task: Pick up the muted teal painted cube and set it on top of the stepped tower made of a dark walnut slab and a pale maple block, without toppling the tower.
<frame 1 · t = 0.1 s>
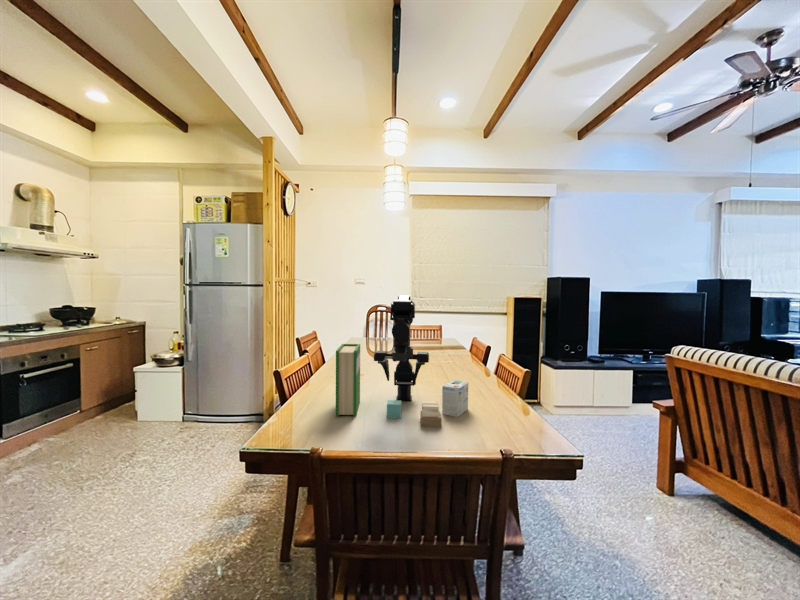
hand: (401, 381, 125), 14 cm above the table, tool pointing down, fingers open, 9 cm apart
teal cube: (394, 415, 132), on the table
light bulb box: (455, 412, 137), on the table
walnut slab: (430, 424, 125), on the table, touching maple block
hardback book: (348, 409, 139), on the table
maple block: (430, 414, 125), point 3 cm above the table, touching walnut slab
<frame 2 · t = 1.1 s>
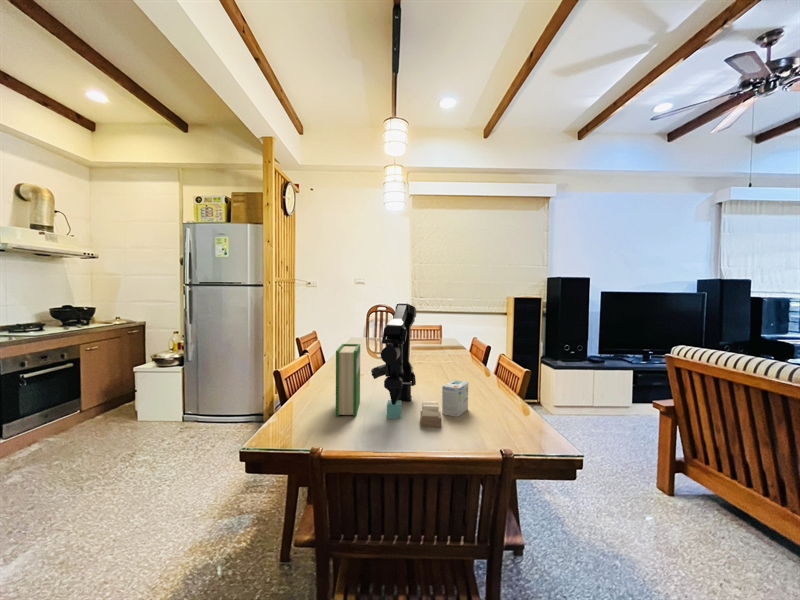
hand: (394, 400, 132), 5 cm above the table, tool pointing down, fingers open, 9 cm apart
walnut slab: (430, 424, 125), on the table
maple block: (430, 413, 125), point 3 cm above the table
everything else where it was.
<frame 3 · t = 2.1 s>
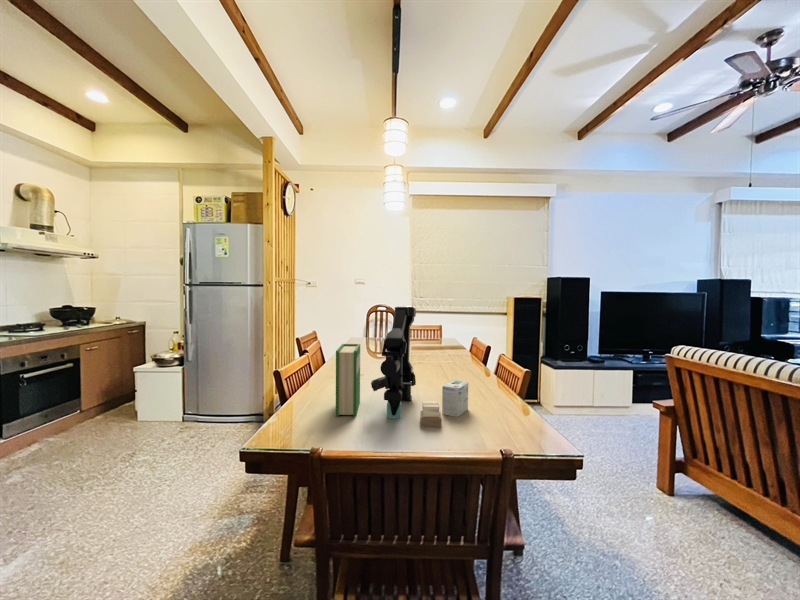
hand: (394, 412, 132), 1 cm above the table, tool pointing down, fingers closed on teal cube, 5 cm apart
teal cube: (394, 415, 132), on the table, touching gripper
everything else where it was.
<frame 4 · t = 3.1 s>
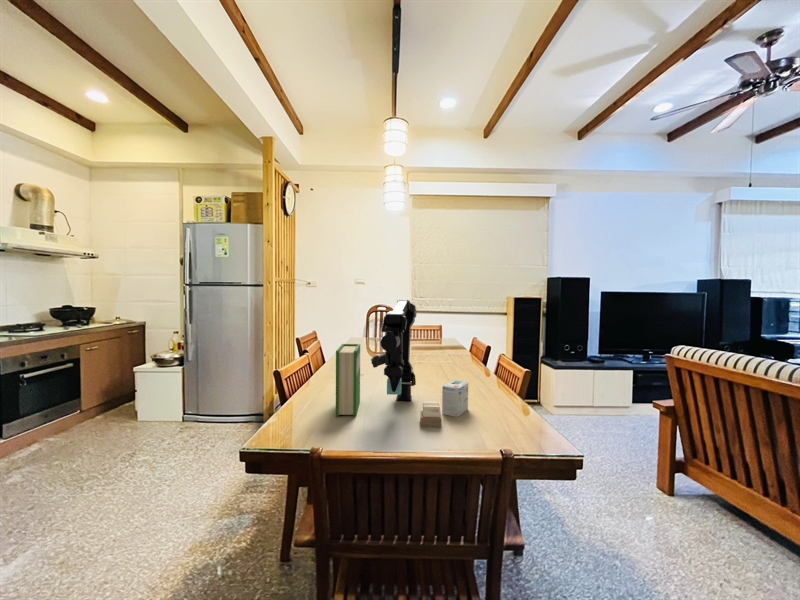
hand: (394, 389, 132), 10 cm above the table, tool pointing down, fingers closed on teal cube, 5 cm apart
teal cube: (394, 392, 132), point 9 cm above the table, touching gripper
everything else where it was.
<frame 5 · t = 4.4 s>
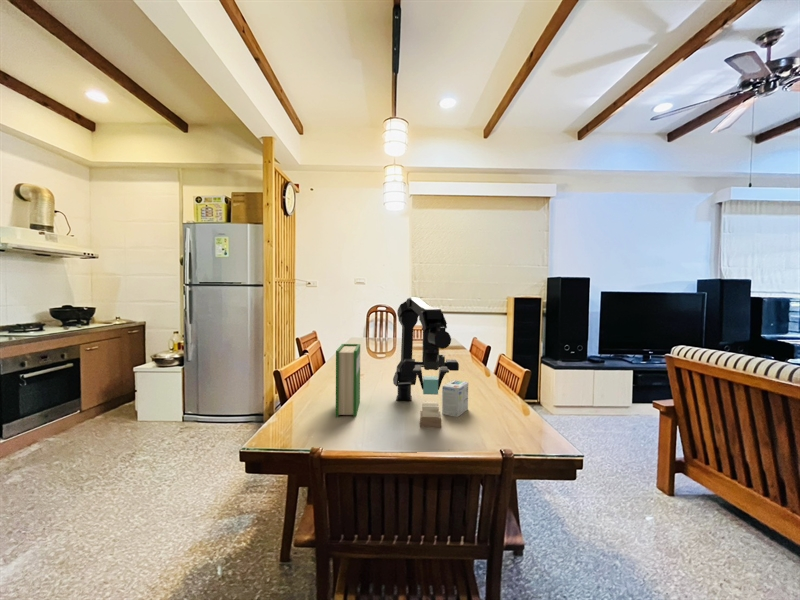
hand: (430, 389, 124), 12 cm above the table, tool pointing down, fingers closed on teal cube, 5 cm apart
teal cube: (430, 392, 124), point 11 cm above the table, touching gripper
walnut slab: (430, 424, 124), on the table, touching maple block
maple block: (430, 414, 124), point 3 cm above the table, touching walnut slab
everything else where it was.
when the fingers open (9 cm above the table, at t = 5.2 s): teal cube drops 1 cm, resting on maple block.
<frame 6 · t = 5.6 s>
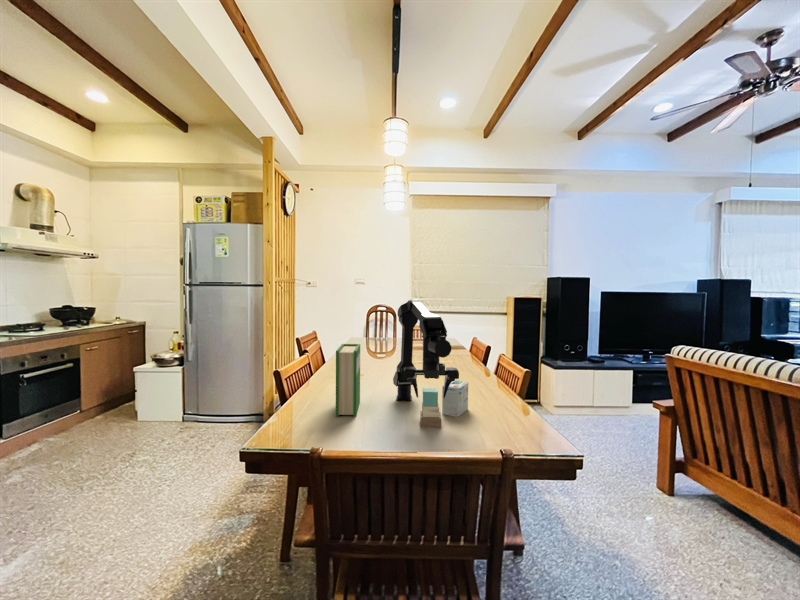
hand: (430, 397, 124), 9 cm above the table, tool pointing down, fingers open, 9 cm apart
teal cube: (430, 404, 124), point 7 cm above the table, touching maple block
maple block: (430, 414, 125), point 3 cm above the table, touching teal cube, walnut slab
everything else where it was.
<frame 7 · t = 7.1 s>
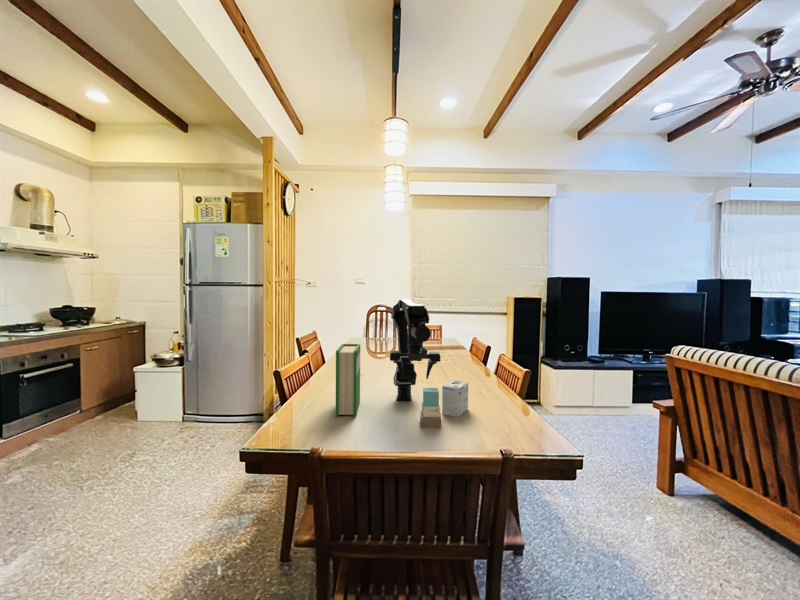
hand: (414, 378, 136), 13 cm above the table, tool pointing down, fingers open, 9 cm apart
teal cube: (430, 404, 124), point 7 cm above the table
maple block: (430, 414, 124), point 3 cm above the table, touching walnut slab
everything else where it was.
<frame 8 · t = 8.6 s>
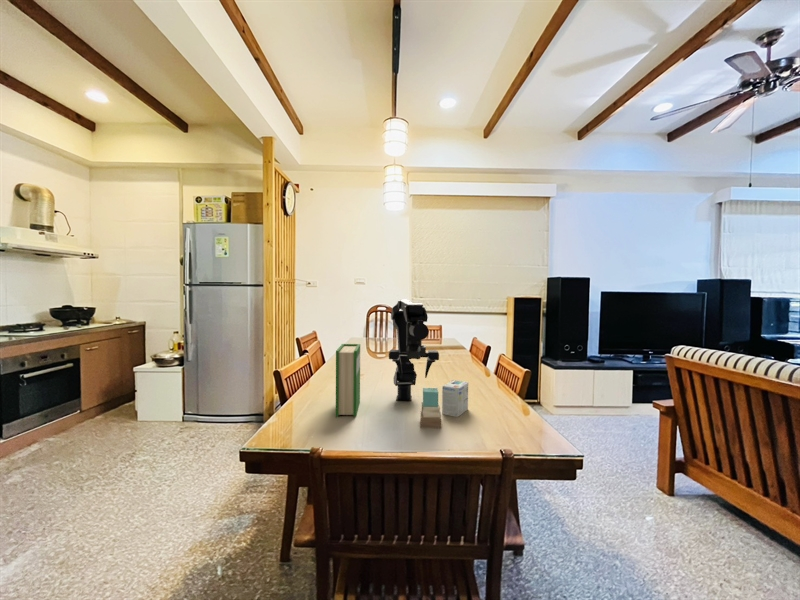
hand: (413, 377, 137), 13 cm above the table, tool pointing down, fingers open, 9 cm apart
nothing on the table moved.
at the end: teal cube 0.1 cm off-centre on the maple block, point 3.5 cm above the maple block's base; maple block 0.2 cm off-centre on the walnut slab, point 3.5 cm above the walnut slab's base; teal cube tilted 0° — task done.
